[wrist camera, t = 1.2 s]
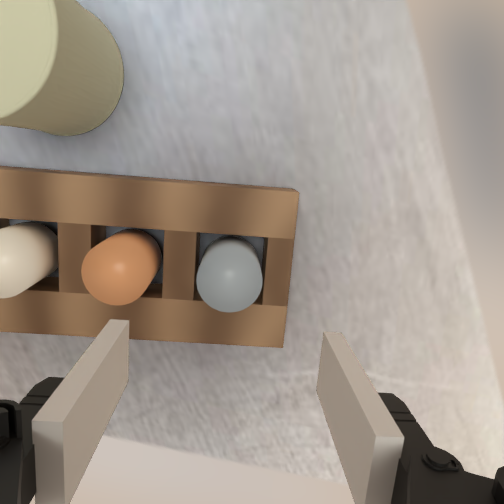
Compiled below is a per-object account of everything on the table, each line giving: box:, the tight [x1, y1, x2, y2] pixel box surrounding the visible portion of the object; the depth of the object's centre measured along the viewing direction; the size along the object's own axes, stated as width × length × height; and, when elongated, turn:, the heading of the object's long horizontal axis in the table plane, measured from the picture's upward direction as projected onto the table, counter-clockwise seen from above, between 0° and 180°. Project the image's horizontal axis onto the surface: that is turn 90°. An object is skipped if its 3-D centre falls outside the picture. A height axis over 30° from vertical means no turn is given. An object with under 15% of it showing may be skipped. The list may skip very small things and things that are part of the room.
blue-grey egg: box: [196, 236, 263, 312], centre depth 30 cm, size 4×4×5 cm
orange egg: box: [81, 229, 162, 305], centre depth 29 cm, size 4×4×5 cm
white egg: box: [0, 222, 59, 298], centre depth 29 cm, size 4×4×5 cm
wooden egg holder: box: [0, 166, 299, 348], centre depth 32 cm, size 24×12×4 cm, turn 85°
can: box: [0, 0, 124, 136], centre depth 24 cm, size 9×9×12 cm
